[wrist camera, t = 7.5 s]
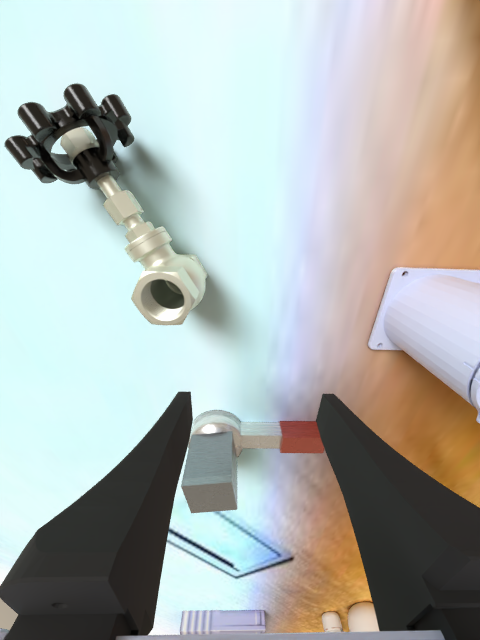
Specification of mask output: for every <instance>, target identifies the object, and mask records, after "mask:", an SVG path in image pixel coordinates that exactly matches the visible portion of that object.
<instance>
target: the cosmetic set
mask: <svg viewBox="0 0 480 640" xmlns="http://www.w3.org/2000/svg"><path fill="white" fill-rule="evenodd" d="M322 622H323V627H324V631H325V632H343V628H342V624H341V620H340V617H339V615H338V614H337V613H336V612H333V611H329V612H325V613H324V614H323V615H322ZM348 626H349V630H350V632H373V631H379V627H378V623H377V618H376V614H375V610H374V605H373V603H371V602H360V603H356V604H354V605H353V606H352V607H351V608H350V610H349V612H348Z"/></svg>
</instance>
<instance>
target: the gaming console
mask: <svg viewBox="0 0 480 640" xmlns="http://www.w3.org/2000/svg"><path fill="white" fill-rule="evenodd" d="M265 630H266V625H265V612H264V610H239V611H220V610H211V611H207V610H205V611H183V612H182V619H181V626H180V635H203V634H259V633H265Z"/></svg>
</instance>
